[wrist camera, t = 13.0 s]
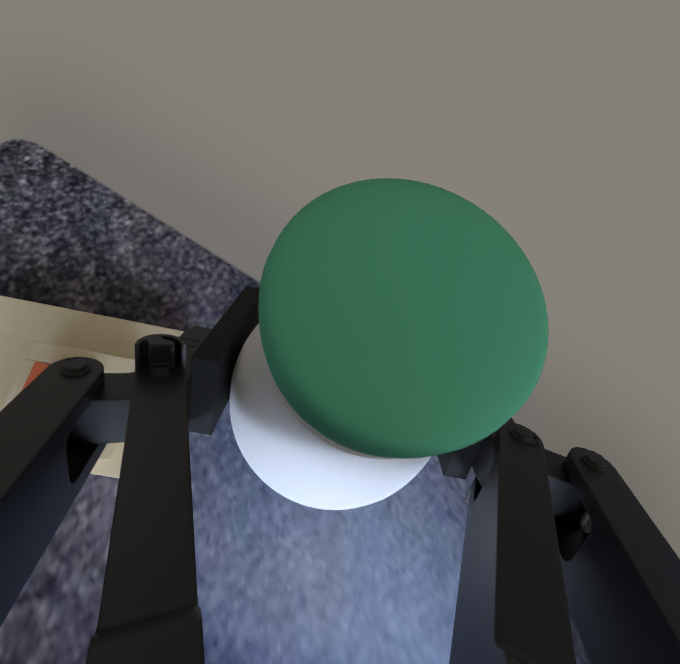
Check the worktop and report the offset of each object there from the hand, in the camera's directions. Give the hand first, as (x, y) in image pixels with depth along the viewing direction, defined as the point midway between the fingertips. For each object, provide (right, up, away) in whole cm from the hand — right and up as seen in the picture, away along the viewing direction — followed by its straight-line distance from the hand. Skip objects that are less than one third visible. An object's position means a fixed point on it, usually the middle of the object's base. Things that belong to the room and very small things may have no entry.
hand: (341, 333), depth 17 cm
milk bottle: (-2, -6, +7) cm, 9 cm away
